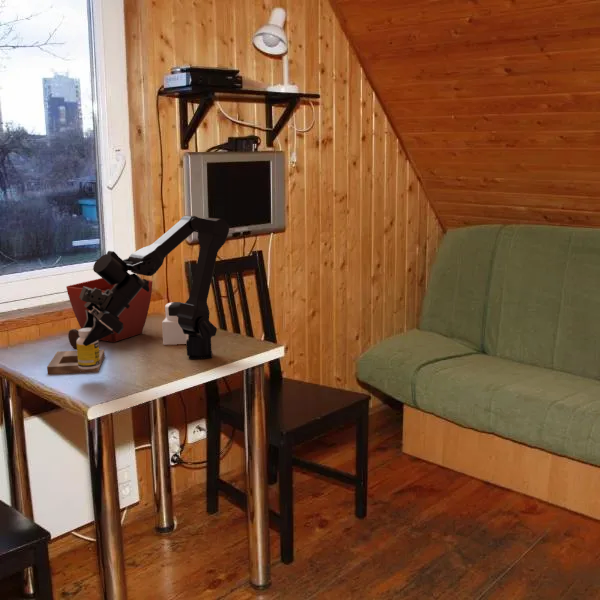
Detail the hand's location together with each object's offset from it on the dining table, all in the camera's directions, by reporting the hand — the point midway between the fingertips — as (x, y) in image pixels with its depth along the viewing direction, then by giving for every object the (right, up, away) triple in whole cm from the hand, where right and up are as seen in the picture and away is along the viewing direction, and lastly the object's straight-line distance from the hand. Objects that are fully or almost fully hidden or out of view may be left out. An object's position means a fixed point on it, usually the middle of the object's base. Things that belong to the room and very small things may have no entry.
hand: (81, 342), depth 195 cm
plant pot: (-3, -1, +48) cm, 48 cm away
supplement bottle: (+1, -7, +2) cm, 7 cm away
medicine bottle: (+18, -2, +39) cm, 43 cm away
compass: (-8, -4, +32) cm, 33 cm away
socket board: (-6, -7, +17) cm, 20 cm away
